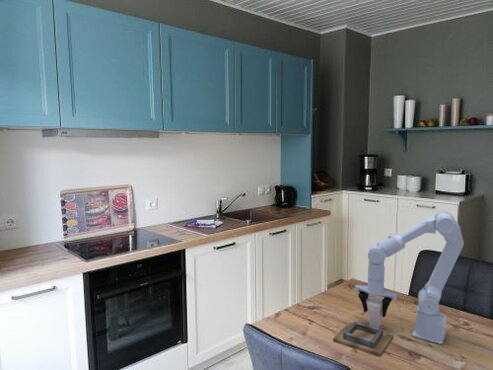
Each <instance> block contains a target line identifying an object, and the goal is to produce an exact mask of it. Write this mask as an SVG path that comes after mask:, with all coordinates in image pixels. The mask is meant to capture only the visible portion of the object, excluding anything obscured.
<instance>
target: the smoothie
mask: <svg viewBox="0 0 493 370" xmlns="http://www.w3.org/2000/svg"><path fill="white" fill-rule="evenodd" d="M375 296H376V295H372V297H368V299H366V303H367V308H368V311H367V316H368V317H367V318H368V325H369V326H372V327H376V328H379V329H380V327H381V321H382V311H383V305H382V300H383V299H381V298H380V297H379V298H377V297H375Z"/></svg>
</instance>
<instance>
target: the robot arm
mask: <svg viewBox="0 0 493 370" xmlns="http://www.w3.org/2000/svg"><path fill="white" fill-rule="evenodd" d="M436 231H437V232H438V233H439V234H440V235H441V236H442V237H443V239H444V241H445V245H444V246H443V248H442V250H441V253H440V256H439V257H438V259H437V262H436V265H435V267H434V269H433V271H432V273H431V275H430V276H429V279H428V281H427V283H425V285H424V287H422V289H420V290H419V291H418V293H417V299H418V304H417V306H416V313H415V314H416V315H415V329H414V330H413V332H412V334H411V336H412V337H414V338H417V339H422V340H425V341H429V342H431V343H436V344H439V345H443V343H444V341H445V338H446V335H447V315H445V314H443V313H441V312H440V300H441V298H442V293H443V290H444V287H445V285H446V283H447V282H448V279H449V276H450V275H451V272H452V270H453V268H454V267H455V264H456V262H457V260H458V259H459V258H458V257H459V256H460V253H461V252H462V249H463V247H464V246H465V245H464V244H465V243H464V238H463V234H462V230H461V227H460V225H459V224H458V221H457V220H456V218H455V217H454V216H453V214H452V213H450V212H448V211H446V210H445V211H444V210H443V211H440V212H437V213H436V214H435V215H434V214H433V215H431V216H428V217H427V218H425V219H424V220H422V221H420V222H419V223H417V224H416V225H414V226H412V227H411V228H410V229H408V230H407V231H405V232H403V233H401V234H389V235H387V238H386V239H384V240H382V241H381V242H380V241H378V242H376V244H375V245H374V244H373V245H372V246H370V247H369V250H368V253H367V259H368V265H367V285H360V284H356V285H355V289H354V290H355V292H358V294H357V295H358V298H359V300H360V302H361V304H362V308H363V312H364V313H368V308H367V303H366V299H368V298H369V296H370V295H372V296H373V295H375V296H377V297H382V298H383V299H381V300H382V305H383V310H382V316H381V318H385V317H386V316H387V312H388V309H389V307H390V305H391V302H392V301H396V300H397V298H398V297H397V296H398V294H397V293H395V292H392V291H390V290H387V289H385V273H386V272H385V271H386V269H385V267H386V266H385V260H386V258H390V257H392V256H393V255H395V254H397V253H399V252H400V251H402V250H403V249H405V247H406V244H407V243H409V242H411V241H412V240H415V239H417V238H420V237H421V236H422V235H424V234H427V233H428V234H434V235H436V234H437V232H436Z"/></svg>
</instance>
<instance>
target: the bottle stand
mask: <svg viewBox="0 0 493 370" xmlns="http://www.w3.org/2000/svg"><path fill="white" fill-rule="evenodd" d="M393 339H394V335H393V334H389V333H386V332H384V329H382V328H380V327H379V328H376V327H372V326H369V324H364V323H361V322H357V321H355V320H354V321H353V322H348V323H346V324H345V326H344V327H343V328H342V329H341V330H340V331H338V333H337V334H336V335H335V336H334V337H333V339H332V340H333V342H334V343H337V344H340V345H344V346H347V347H350V348H353V349H356V350H359V351H362V352H365V353H368V354H371V355H374V356H378V357H380V358H381V356H382V355H383V354H384V352H385V351H386V349H387V348H388V347H389V345H390V343H391V342H392V340H393Z"/></svg>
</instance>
